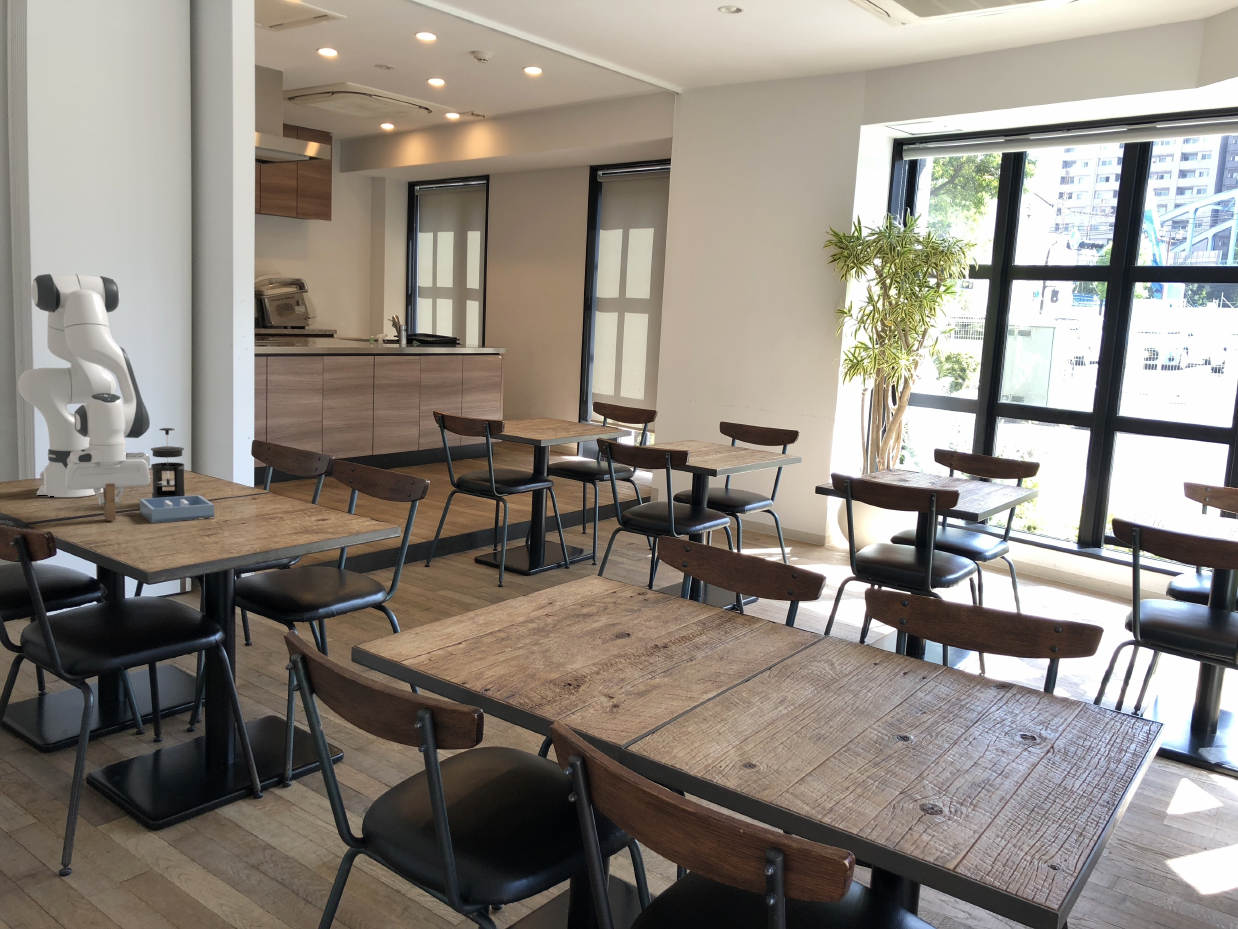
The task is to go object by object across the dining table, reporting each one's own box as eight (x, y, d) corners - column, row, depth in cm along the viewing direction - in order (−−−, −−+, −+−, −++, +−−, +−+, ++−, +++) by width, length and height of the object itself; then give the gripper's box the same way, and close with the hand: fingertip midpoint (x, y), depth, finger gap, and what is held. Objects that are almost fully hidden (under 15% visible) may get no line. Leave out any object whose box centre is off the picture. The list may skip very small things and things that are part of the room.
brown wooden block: (104, 516, 255) (102, 481, 253) (112, 516, 256) (111, 480, 254) (107, 520, 251) (106, 484, 249) (115, 519, 252) (114, 483, 251)
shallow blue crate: (140, 512, 265) (139, 499, 264) (199, 508, 275) (199, 495, 274) (152, 523, 253) (152, 509, 252) (214, 518, 262) (213, 504, 262)
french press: (143, 503, 278) (141, 427, 274) (171, 499, 286) (170, 425, 282) (167, 508, 272) (165, 431, 269) (196, 504, 280) (194, 429, 277)
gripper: (147, 450, 259) (148, 498, 262) (63, 453, 247) (65, 504, 249) (152, 453, 255) (153, 502, 257) (66, 457, 242) (68, 508, 244)
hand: (109, 503), depth 253 cm, fingers closed on brown wooden block, 2 cm apart
